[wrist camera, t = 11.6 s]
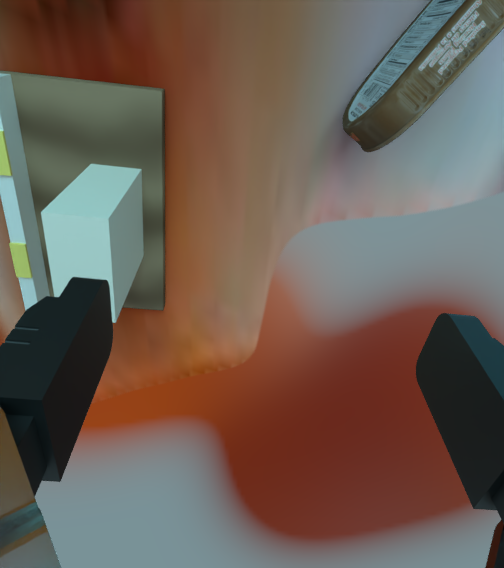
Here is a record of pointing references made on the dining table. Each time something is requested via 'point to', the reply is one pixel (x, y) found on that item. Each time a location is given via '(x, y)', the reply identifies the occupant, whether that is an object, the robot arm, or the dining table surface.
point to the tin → (420, 68)
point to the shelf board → (97, 155)
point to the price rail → (19, 201)
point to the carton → (97, 230)
